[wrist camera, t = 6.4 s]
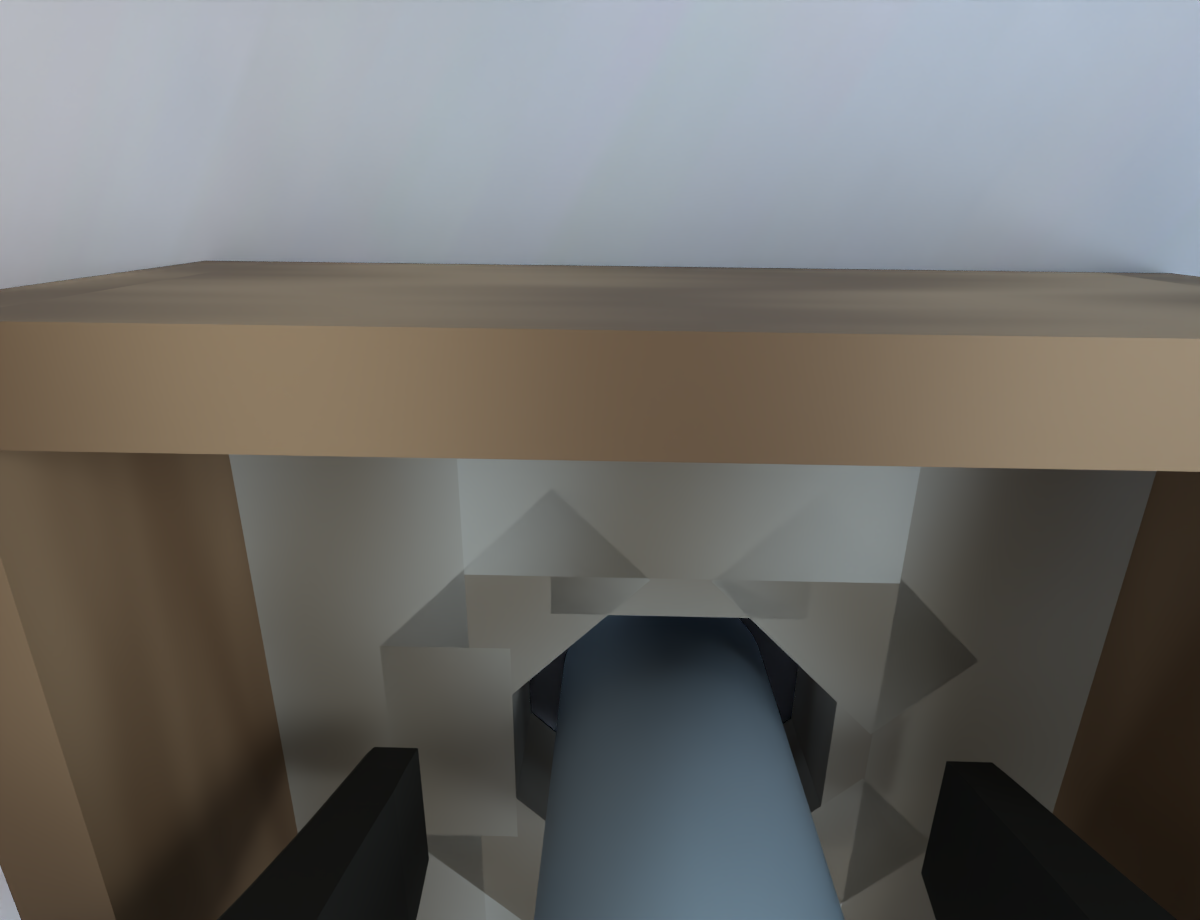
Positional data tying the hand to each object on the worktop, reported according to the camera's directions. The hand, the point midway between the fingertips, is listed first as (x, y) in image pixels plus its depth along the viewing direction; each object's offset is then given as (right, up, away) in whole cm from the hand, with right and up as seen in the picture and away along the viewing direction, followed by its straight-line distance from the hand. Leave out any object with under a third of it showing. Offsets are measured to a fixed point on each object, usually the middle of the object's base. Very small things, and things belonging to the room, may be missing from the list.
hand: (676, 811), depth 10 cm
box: (0, +1, +3) cm, 3 cm away
